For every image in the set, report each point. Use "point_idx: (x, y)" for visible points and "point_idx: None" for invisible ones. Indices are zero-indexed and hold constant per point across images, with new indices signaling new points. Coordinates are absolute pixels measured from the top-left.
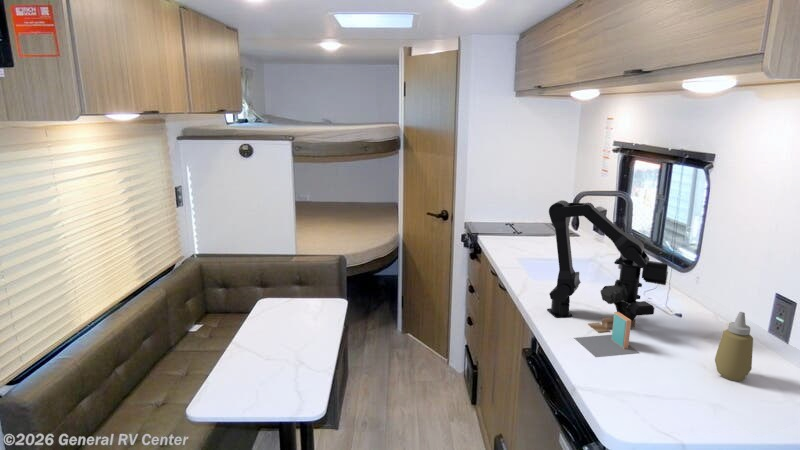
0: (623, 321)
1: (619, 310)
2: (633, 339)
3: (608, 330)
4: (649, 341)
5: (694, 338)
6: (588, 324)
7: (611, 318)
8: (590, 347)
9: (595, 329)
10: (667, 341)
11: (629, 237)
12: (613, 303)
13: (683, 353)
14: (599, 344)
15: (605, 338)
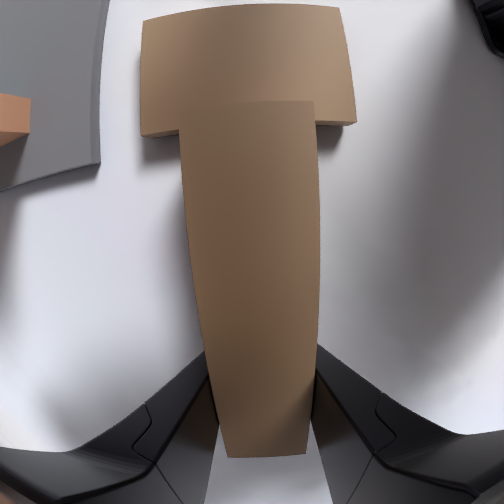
0: None
1: (351, 434)
2: (61, 287)
3: (144, 121)
4: (58, 361)
5: None
6: (325, 9)
7: (293, 242)
8: None
9: (192, 11)
10: (84, 428)
11: None
12: (492, 435)
13: (8, 395)
14: (16, 18)
15: (51, 60)
